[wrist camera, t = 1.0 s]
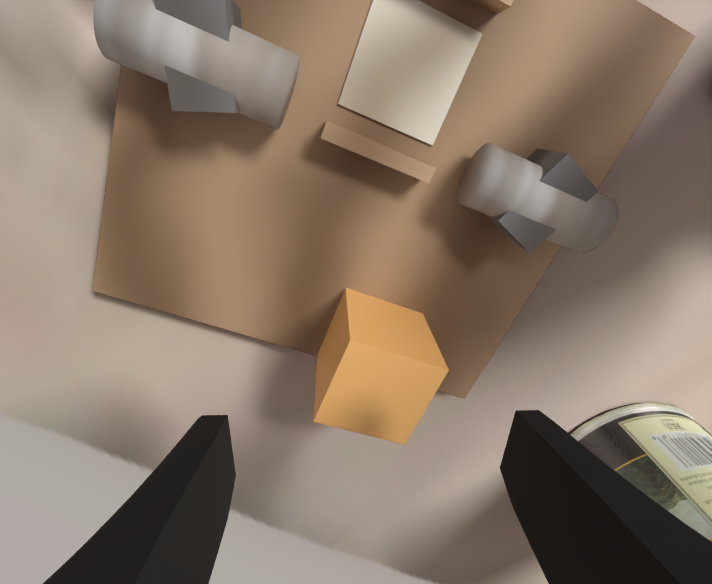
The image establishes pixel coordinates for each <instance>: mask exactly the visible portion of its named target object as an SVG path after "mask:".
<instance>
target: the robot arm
mask: <svg viewBox="0 0 712 584" xmlns="http://www.w3.org/2000/svg"><path fill="white" fill-rule="evenodd" d="M500 470H501V473H502V476H503V479H504V482H505V485H506V488H507V491H508V494H509V497H510V500H511V503H512V505H513V508H514V511H515V513H516V515H517V517H518V519H519V522H520V524H521V526H522V528H523V530H524V532H525V534H526V537H527V539H528V541H529V543H530V545H531V547H532V549H533V551H534V554H535V556H536V558H537V560H538V562H539V564H540V566H541V568H542V570H543V572H544V575H545V577H546V579H547V581H548V583H549V584H712V542H711V541H710V540H708V539H707V538H705V537H704V536H703V535H701V534H700V533H698V532H697V531H695V530H694V529H692V528H691V527H690V526H688V525H687V524H685V523H684V522H683V521H681V520H680V519H678V518H677V517H676V516H674V515H673V514H672V513H670V512H669V511H667V510H666V509H665V508H663V507H662V506H661V505H659V504H658V503H656V502H655V501H654V500H652V499H651V498H650V497H648V496H647V495H646V494H644V493H643V492H642V491H640V490H639V489H638V488H636V487H635V486H634V485H632V484H631V483H630V482H629V481H627V480H626V479H625V478H623V477H622V476H621V475H620V474H618V473H617V472H616V471H615V470H613V469H612V468H611V467H609V466H608V465H607V464H606V463H604V462H603V461H602V460H601V459H599V458H598V457H597V456H596V455H594V454H593V453H592V452H591V451H589V450H588V449H587V448H586V447H585V446H583V445H582V444H581V443H580V442H578V441H577V440H576V439H575V438H573V437H572V436H571V435H570V434H568V433H567V432H566V431H565V430H564V429H562V428H561V427H560V426H559V425H557V424H556V423H555V422H554V421H552V420H551V419H550V418H548V417H547V416H546V415H544V414H543V413H542V412H540V411H539V410H527V411H516V412H515V415H514V419H513V423H512V426H511V430H510V433H509V437H508V441H507V444H506V448H505V451H504V455H503V459H502V462H501V466H500ZM235 476H236V473H235V466H234V459H233V451H232V444H231V437H230V430H229V422H228V415H205V416H201V417H200V418H199V419H197V421H196V422H195V423H194V424H193V425H192V427H191V428H190V429H189V430H188V431H187V433H186V434H185V435H184V436H183V437H182V439H181V440H180V441H179V442H178V443H177V445H176V446H175V447H174V448H173V449H172V451H171V452H170V453H169V454H168V455H167V456H166V458H165V459H164V460H163V461H162V462H161V463H160V465H159V466H158V467H157V468H156V469H155V470H154V471H153V472H152V474H151V475H150V476H149V477H148V478H147V479H146V480H145V481H144V483H143V484H142V485H141V486H140V487H139V488H138V489H137V490H136V491H135V493H134V494H133V495H132V496H131V497H130V498H129V499H128V500H127V501H126V502H125V503H124V504H123V505H122V506H121V508H119V509H118V510H117V512H116V513H115V514H114V515H113V516H112V517H111V518H110V519H109V520H108V521H107V522H106V523H105V524H104V525H103V526H102V527H101V528H100V529H99V530H98V531H97V532H96V533H95V534H94V535H93V536H92V537H91V538H90V539H89V540H88V541H87V542H86V543H85V544H84V545H83V546H82V547H81V548H80V549H79V550H78V551H77V552H76V553H75V554H74V555H73V556H72V557H71V558H70V559H69V560H68V561H67V562H66V563H65V564H63V565H62V567H61V568H59V569H58V570H57V571H56V572H55V573H54V574H53V575H52V576H51V577H50V578H48V579H47V580H46V581H45V582H44V583H43V584H208V583H209V580H210V577H211V573H212V570H213V567H214V563H215V560H216V556H217V553H218V550H219V546H220V543H221V539H222V536H223V533H224V529H225V526H226V522H227V519H228V513H229V509H230V504H231V498H232V493H233V487H234V482H235Z"/></svg>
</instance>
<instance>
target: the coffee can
mask: <svg viewBox="0 0 712 584" xmlns="http://www.w3.org/2000/svg"><path fill="white" fill-rule="evenodd" d="M570 435H571V436H572V437H573V438H575V439H576V440H577V441H578V442H580V443H581V444H582V445H583V446H585V447H586V448H587V449H588V450H589V451H591V452H592V453H593V454H594V455H596V456H597V457H598V458H599V459H601V460H602V461H603V462H604V463H606V464H607V465H608V466H609V467H611V468H612V469H613V470H615V471H616V472H617V473H618V474H620V475H621V476H622V477H623V478H625V479H626V480H627V481H629V482H630V483H631V484H632V485H634V486H635V487H636V488H638V489H639V490H640V491H642V492H643V493H644V494H646V495H647V496H648V497H650V498H651V499H652V500H654V501H655V502H656V503H658V504H659V505H661V506H662V507H663V508H665V509H666V510H667V511H669V512H670V513H672V514H673V515H674V516H676V517H677V518H678V519H680V520H681V521H683V522H684V523H685V524H687V525H688V526H690V527H691V528H692V529H694V530H695V531H697V532H698V533H700V534H701V535H703V536H704V537H705V538H707V539H708V540H710V541H711V542H712V435H711V434H710V433H709V432H708V431H706V430H705V429H704V428H703V427H702V426H701V425H699V424H698V423H697V422H696V421H695V419H694V418H693V417H692V416H691V415H690V414H688V413H687V412H685V411H684V410H682V409H680V408H677V407H674V406H673V405H666V404H659V403H640V404H633V405H628V406H624V407H620V408H617V409H613V410H610V411H607V412H606V413H604V414H602V415H599V416H597V417H595V418H593V419H591V420H590V421H588V422H586V423H584V424H583V425H581V426H580V427H579V428H577V429H576V430H575V431H573V432H572V433H571V434H570Z"/></svg>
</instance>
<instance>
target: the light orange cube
mask: <svg viewBox="0 0 712 584" xmlns="http://www.w3.org/2000/svg"><path fill="white" fill-rule="evenodd" d="M448 371H449V369H448V367H447V365H446V363H445V361H444V359H443V356H442V354H441V352H440V350H439V348H438V345H437V343H436V341H435V339H434V337H433V335H432V332H431V330H430V328H429V326H428V324H427V322H426V319H425V317H424V315H423V313H420V312H417V311H414V310H411V309H408V308H405V307H402V306H399V305H396V304H393V303H390V302H387V301H384V300H381V299H378V298H375V297H372V296H369V295H366V294H363V293H360V292H357V291H354V290H351V289H348V288H345V290H344V293H343V295H342V298H341V300H340V302H339V305H338V307H337V309H336V312H335V314H334V317H333V319H332V321H331V324H330V326H329V329H328V331H327V333H326V336H325V338H324V340H323V343H322V345H321V348H320V350H319V352H318V355H317V365H316V383H315V401H314V420H313V422H317V423H321V424H325V425H329V426H333V427H337V428H341V429H345V430H349V431H353V432H357V433H360V434H364V435H368V436H372V437H376V438H380V439H384V440H388V441H392V442H396V443H400V444H404V445H405V443H406V442H407V440H408V438H409V437H410V435H411V433H412V432H413V430H414V428H415V427H416V425H417V423H418V422H419V420H420V418H421V416H422V415H423V413H424V411H425V410H426V408H427V406H428V405H429V403H430V401H431V400H432V398H433V396H434V395H435V393H436V391H437V390H438V388H439V386H440V385H441V383H442V381H443V380H444V378H445V376H446V374H447V373H448Z"/></svg>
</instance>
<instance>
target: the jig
mask: <svg viewBox="0 0 712 584" xmlns="http://www.w3.org/2000/svg"><path fill="white" fill-rule="evenodd" d="M94 31H95V37H96V41H97V44H98V47H99V49H100V51H101V52H102V54H103V55H104V56H105V57H106V58H107V59H109V60H111V61H114V62H116V63H119V64H121V72H120V80H119V88H118V96H117V103H116V111H115V119H114V127H113V135H112V142H111V150H110V158H109V166H108V174H107V181H106V189H105V197H104V205H103V213H102V220H101V228H100V236H99V244H98V252H97V260H96V267H95V275H94V283H93V291H95V292H98V293H102V294H105V295H109V296H112V297H116V298H119V299H123V300H126V301H130V302H133V303H136V304H140V305H143V306H147V307H150V308H154V309H157V310H161V311H164V312H167V313H171V314H174V315H178V316H181V317H185V318H188V319H192V320H195V321H198V322H202V323H205V324H209V325H212V326H216V327H219V328H223V329H226V330H229V331H233V332H236V333H240V334H243V335H247V336H250V337H254V338H257V339H261V340H264V341H267V342H271V343H274V344H278V345H281V346H285V347H288V348H292V349H295V350H298V351H302V352H305V353H309V354H312V355H316V356H317V355H318V352H319V350H320V348H321V345H322V343H323V340H324V338H325V336H326V333H327V331H328V329H329V326H330V324H331V321H332V319H333V317H334V314H335V312H336V309H337V307H338V305H339V302H340V300H341V298H342V295H343V293H344V290H345V288H348V289H351V290H354V291H357V292H360V293H363V294H366V295H369V296H372V297H375V298H378V299H381V300H384V301H387V302H390V303H393V304H396V305H399V306H402V307H405V308H408V309H411V310H414V311H417V312H420V313H423V315H424V317H425V319H426V322H427V324H428V326H429V328H430V330H431V332H432V335H433V337H434V339H435V341H436V343H437V345H438V348H439V350H440V352H441V354H442V356H443V359H444V361H445V363H446V365H447V367H448V369H449V371H448V373H447V374H446V376H445V378H444V380H443V381H442V383H441V385H440V386H439V388H438V390H437V391H440V392H443V393H447V394H450V395H454V396H457V397H460V398H465V397H466V395H467V394H468V392H469V391H470V389H471V387H472V386H473V384H474V383H475V381H476V380H477V378H478V376H479V375H480V373H481V372H482V370H483V369H484V367H485V365H486V364H487V362H488V361H489V359H490V358H491V356H492V354H493V353H494V351H495V350H496V348H497V347H498V345H499V343H500V342H501V340H502V339H503V337H504V336H505V334H506V332H507V331H508V329H509V328H510V326H511V325H512V323H513V322H514V320H515V318H516V317H517V315H518V314H519V312H520V311H521V309H522V307H523V306H524V304H525V303H526V301H527V300H528V298H529V296H530V295H531V293H532V292H533V290H534V289H535V287H536V285H537V284H538V282H539V281H540V279H541V278H542V276H543V274H544V273H545V271H546V270H547V268H548V267H549V265H550V264H551V262H552V260H553V259H554V257H555V256H556V254H557V253H558V251H559V249H560V248H561V246H564V247H566V248H568V249H571V250H573V251H576V252H581V253H583V252H588V251H590V250H593V249H595V248H596V247H598V246H599V245H600V244H602V243H603V242H604V241H605V240H606V239H607V237H608V236H609V235H610V233H611V232H612V230H613V228H614V227H615V224H616V222H617V218H618V206H617V204H616V202H615V201H614V200H613V199H611V198H609V197H607V196H605V195H603V194H601V193H598V188H599V187H600V185H601V184H602V182H603V180H604V179H605V177H606V176H607V174H608V173H609V171H610V169H611V168H612V166H613V165H614V163H615V162H616V160H617V158H618V157H619V155H620V154H621V152H622V151H623V149H624V147H625V146H626V144H627V143H628V141H629V140H630V138H631V136H632V135H633V133H634V132H635V130H636V129H637V127H638V126H639V124H640V122H641V121H642V119H643V118H644V116H645V115H646V113H647V111H648V110H649V108H650V107H651V105H652V104H653V102H654V100H655V99H656V97H657V96H658V94H659V93H660V91H661V89H662V88H663V86H664V85H665V83H666V82H667V80H668V78H669V77H670V75H671V74H672V72H673V71H674V69H675V68H676V66H677V64H678V63H679V61H680V60H681V58H682V57H683V55H684V53H685V52H686V50H687V49H688V47H689V46H690V44H691V42H692V41H693V39H694V38H695V36H694V35H693V34H691V33H689V32H688V31H686V30H684V29H683V28H681V27H679V26H678V25H676V24H674V23H673V22H671V21H669V20H668V19H666V18H664V17H663V16H661V15H660V14H658V13H656V12H655V11H653V10H651V9H650V8H648V7H646V6H645V5H643V4H641V3H640V2H638V1H636V0H95V6H94Z"/></svg>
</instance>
